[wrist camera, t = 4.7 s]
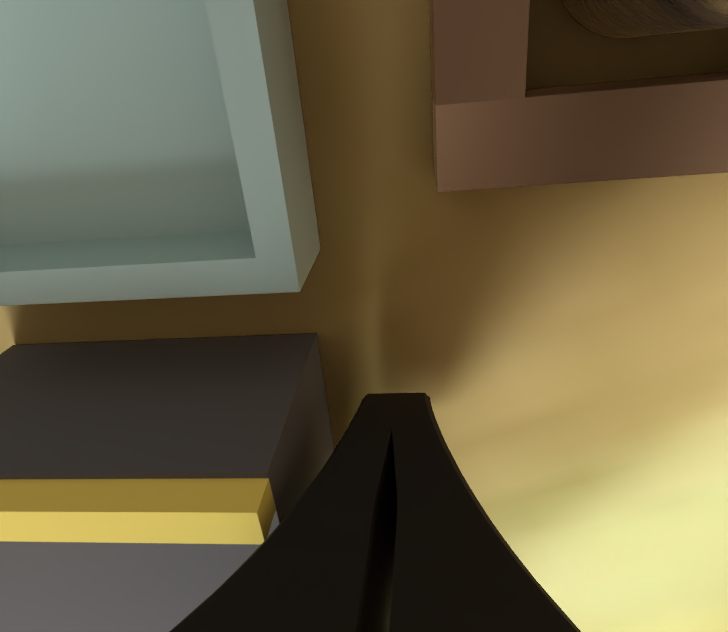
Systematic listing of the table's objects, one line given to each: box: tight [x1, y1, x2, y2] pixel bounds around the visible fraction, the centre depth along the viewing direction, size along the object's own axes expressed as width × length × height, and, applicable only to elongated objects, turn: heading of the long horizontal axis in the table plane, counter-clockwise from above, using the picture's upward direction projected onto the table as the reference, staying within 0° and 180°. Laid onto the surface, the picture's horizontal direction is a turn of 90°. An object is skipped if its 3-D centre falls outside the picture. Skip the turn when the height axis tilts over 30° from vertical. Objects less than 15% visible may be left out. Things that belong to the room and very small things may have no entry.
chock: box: [0, 333, 334, 632], centre depth 10 cm, size 7×4×5 cm, turn 95°
